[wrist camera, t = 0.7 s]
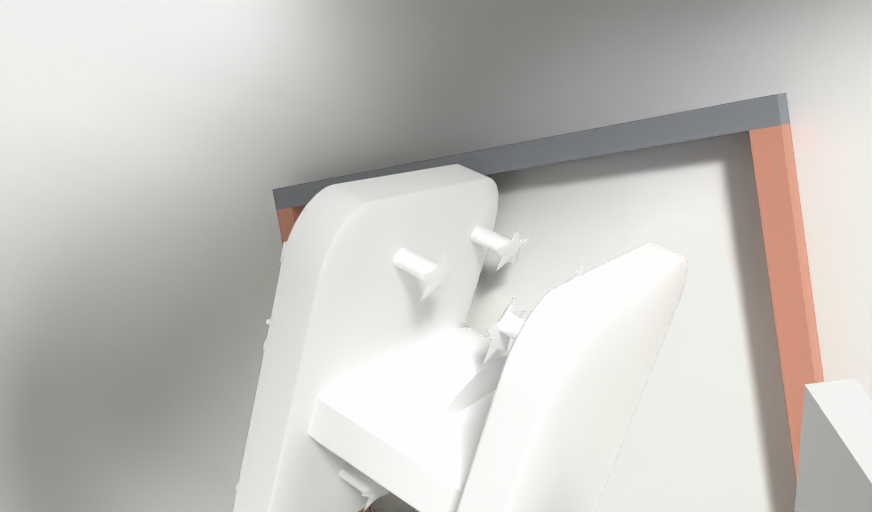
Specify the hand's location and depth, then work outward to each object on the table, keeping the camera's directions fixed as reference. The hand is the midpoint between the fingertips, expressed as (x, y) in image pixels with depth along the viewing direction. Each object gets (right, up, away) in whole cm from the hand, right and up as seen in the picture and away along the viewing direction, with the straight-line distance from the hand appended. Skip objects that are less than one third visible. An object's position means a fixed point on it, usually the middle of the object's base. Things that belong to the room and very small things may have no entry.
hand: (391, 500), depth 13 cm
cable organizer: (+5, 0, +22) cm, 22 cm away
